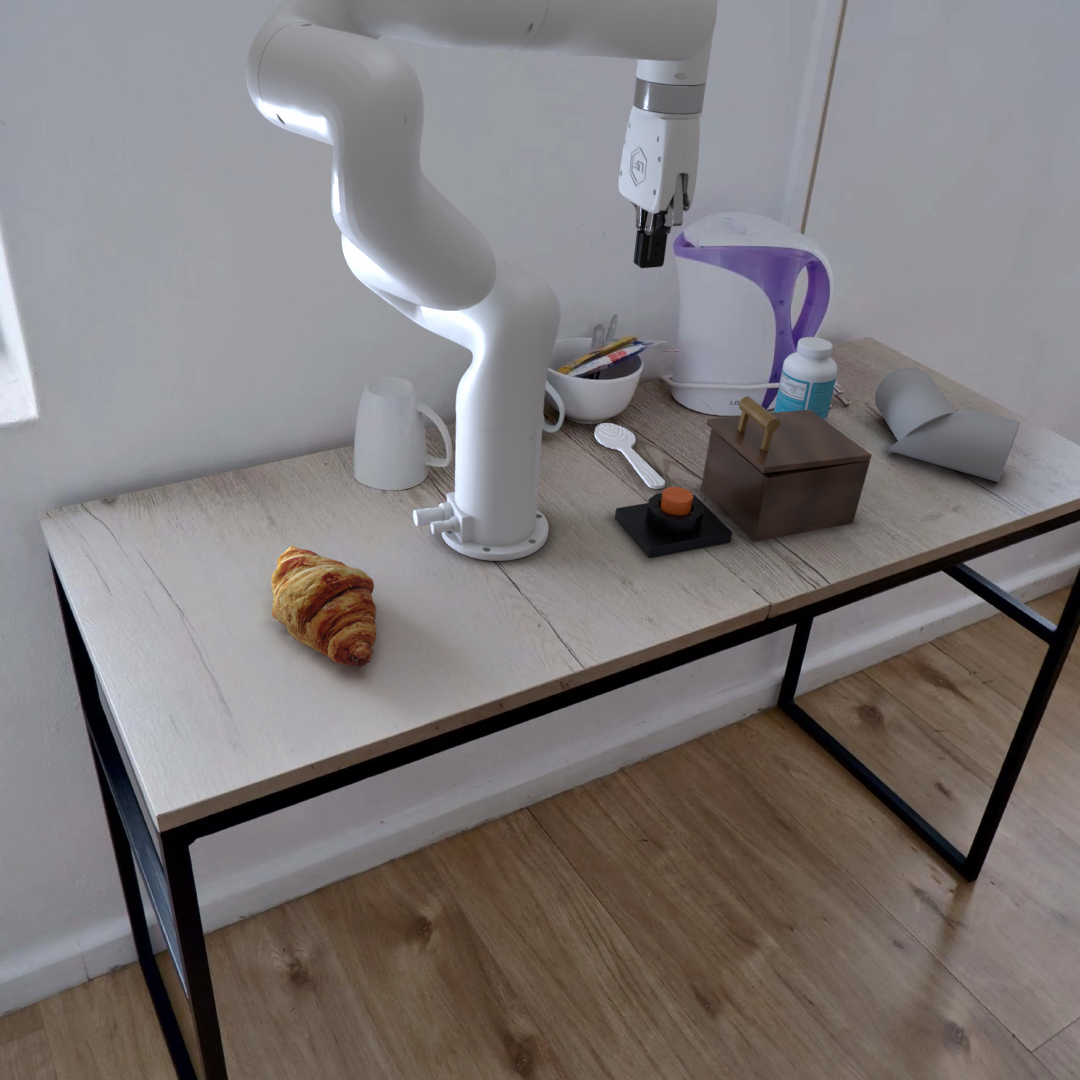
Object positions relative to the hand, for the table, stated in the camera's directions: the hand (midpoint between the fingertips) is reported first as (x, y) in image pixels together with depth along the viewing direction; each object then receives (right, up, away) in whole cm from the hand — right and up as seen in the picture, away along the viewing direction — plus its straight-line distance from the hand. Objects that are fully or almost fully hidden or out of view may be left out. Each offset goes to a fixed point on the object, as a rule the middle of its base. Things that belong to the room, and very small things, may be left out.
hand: (648, 265), depth 119 cm
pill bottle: (+24, -17, +27) cm, 40 cm away
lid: (+17, -21, +3) cm, 27 cm away
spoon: (-1, -21, +17) cm, 27 cm away
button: (+3, -29, +1) cm, 29 cm away
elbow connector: (+43, -19, +25) cm, 53 cm away
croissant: (-35, -41, -16) cm, 56 cm away
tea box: (+17, -28, +9) cm, 34 cm away
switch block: (+3, -31, +2) cm, 32 cm away
